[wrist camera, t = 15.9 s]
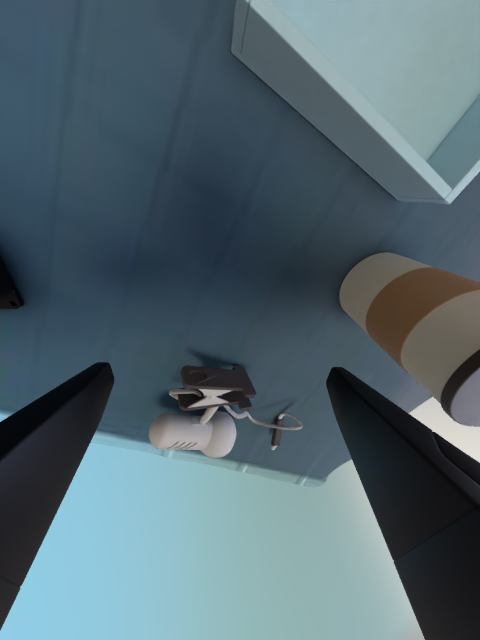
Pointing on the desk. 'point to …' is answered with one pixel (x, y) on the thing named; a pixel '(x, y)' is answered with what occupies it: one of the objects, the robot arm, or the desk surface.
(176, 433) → the clip-on lamp
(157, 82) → the desk surface
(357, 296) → the cup
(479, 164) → the tub
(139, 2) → the desk surface
